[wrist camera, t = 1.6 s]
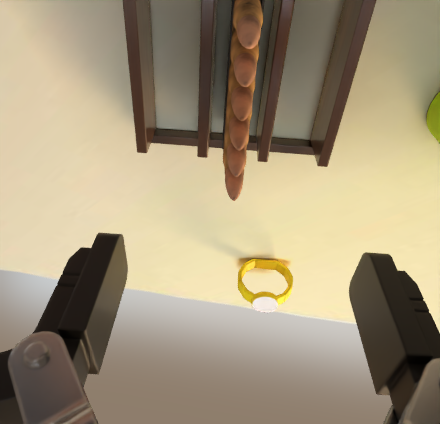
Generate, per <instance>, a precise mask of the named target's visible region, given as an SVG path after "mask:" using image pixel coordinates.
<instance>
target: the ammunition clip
mask: <svg viewBox="0 0 440 424" xmlns="http://www.w3.org/2000/svg"><path fill="white" fill-rule="evenodd" d="M263 7H264V0H232V11H231V25H230V40H229V54H228V69H227V83H226V98H225V112H224V127H223V141H222V149H224V150H223V163H224V167H225V183H226V189H227V192H228V195H229V197H230V198H231V199H232V200H233V201H235V200H236V199H237V198H238V196H239V194H240V192H241V189H242V185H243V175H244V167H245V164H246V150H247V144H248V141H249V125H250V119H251V116H252V102H253V92H254V90H255V75H256V66H257V61H258V58H259V41H260V34H261V27H262V24H263Z"/></svg>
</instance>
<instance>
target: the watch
mask: <svg viewBox="0 0 440 424" xmlns="http://www.w3.org/2000/svg"><path fill="white" fill-rule="evenodd" d="M253 268H262V269H271V270H277V271H278V272H279V273H281V274H282V275H283V276H284V277H285V279H286V281H287V283H288V288H287V289H286V290H285V291H284V293H282V294H280V295H277V296H276V295H274V294H273V293H270V292H259V293H257V294H254V293H252V292H250V291H249V290H247V288H246V287H245V285H244V284H243V282H242V277H243V276H244V274H245V273H246V272H247V271H249V270H251V269H253ZM292 285H293V276H292V274H291V273H290V271H289V269H288V268H287V267H286V266H285V265H284V264H282V263H281V262H279V261H278V260H276V261H273V260H262V259H252V260H250V261H248V262H246V263H245V264H243V266H242V267H241V269H240V270H239V272H238V290H239V291H240V293H241V294H242V296H243V298H245V299H246V300H247V301H249V302H250V303H252V306H253V308H254V309H255V310H257V311H259V312H264V313H265V312H272V311H274V310H276V309H277V307H278V305H279V304H282V303H283V302H285V301H286V300H287V298H288V297H289V296H290V294H291V290H292Z"/></svg>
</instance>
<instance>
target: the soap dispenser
mask: <svg viewBox="0 0 440 424" xmlns="http://www.w3.org/2000/svg"><path fill="white" fill-rule="evenodd" d="M427 126H428V129H429V131H430V132H431V133H432V135H433V136H434V137H435V138H436V140H437V141H438V142H439V143H440V92H439V93H438V94H437V95H436V97H435V98H434V99H433V101H432V103H431V104H430V107H429V109H428V112H427Z"/></svg>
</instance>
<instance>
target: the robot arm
mask: <svg viewBox="0 0 440 424" xmlns="http://www.w3.org/2000/svg"><path fill="white" fill-rule="evenodd" d="M127 271H128V266H127V258H126V252H125V245H124V239H123V235H122V234H109V233H98V234H97V236H96V238H95V241H94V243H93V245H92V248H80V249H79V250H78V251H77V252H76V253H75V254H74V255H73V256H72V257H70V258H69V260H68V262H67V264H66V266H65V268H64V271H63V275H61V277H60V279H59V281H58V285H57V286H56V288H55V290H54V292H53V294H52V296H51V298H50V300H49V302H48V304H47V307H46V309H45V311H44V313H43V315H42V317H41V319H40V321H39V323H38V326H37V327H36V329H35V331H34V332H33V333H32V334H31V335H29V336H27V337H26V338H24V339H22V340H21V341H20V342H19V343H18V344H17V345H16V346H15V347H14V348H13V349H11V350H8V351H5V352H1V353H0V424H98V421H97V419H96V417H95V414H94V412H93V409H92V407H91V405H90V403H89V401H88V398H87V396H86V393H85V391H84V388H83V387H84V384H85V381H86V378H87V374H99V371H100V368H101V365H102V362H103V358H104V355H105V351H106V348H107V345H108V341H109V338H110V334H111V331H112V328H113V324H114V321H115V318H116V314H117V311H118V307H119V304H120V301H121V297H122V294H123V291H124V287H125V284H126V280H127ZM349 296H350V301H351V305H352V308H353V312H354V315H355V319H356V323H357V326H358V329H359V333H360V337H361V341H362V344H363V348H364V351H365V354H366V358H367V362H368V366H369V369H370V373H371V376H372V380H373V384H374V387H375V391H376V394H378V395H390V397H391V400H392V404H393V405H392V406H391V408H390V410H389V412H388V414H387V416H386V418H385V421H384V423H383V424H440V333H439V331H438V329H437V327H436V324H435V322H434V320H433V318H432V316H431V314H430V313H429V309H428V307H427V305H426V303H425V301H423V299H424V298H423V296H422V294H421V292H420V290H419V288H418V286H417V284H416V283H415V282H414V281H413V280H412V278H411V277H410V276H409V275H408V274H407V273H406V272H405V271H397V268H396V266H395V264H394V261H393V259H392V257H391V256H390V255H389V254H379V253H364V254H363V255H362V257H361V260H360V262H359V264H358V266H357V268H356V271H355V273H354V275H353V277H352V280H351V282H350V287H349Z"/></svg>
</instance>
